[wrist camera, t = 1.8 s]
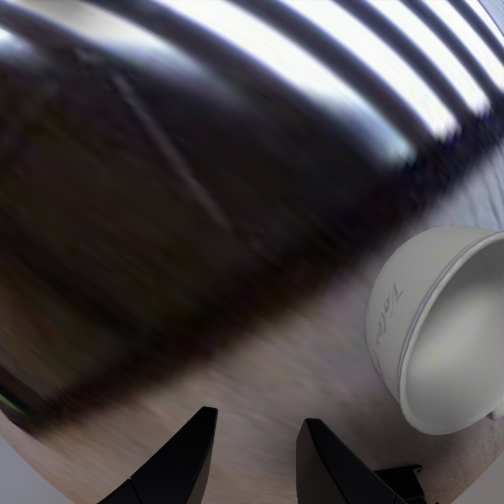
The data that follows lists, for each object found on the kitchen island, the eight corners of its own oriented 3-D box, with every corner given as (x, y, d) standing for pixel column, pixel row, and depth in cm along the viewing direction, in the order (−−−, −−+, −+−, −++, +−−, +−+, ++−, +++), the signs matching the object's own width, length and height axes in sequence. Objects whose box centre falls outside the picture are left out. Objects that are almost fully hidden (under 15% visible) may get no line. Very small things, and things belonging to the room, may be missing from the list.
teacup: (323, 259, 18) (371, 314, 10) (462, 187, 17) (549, 196, 9) (383, 412, 20) (419, 485, 12) (489, 346, 19) (545, 393, 11)
